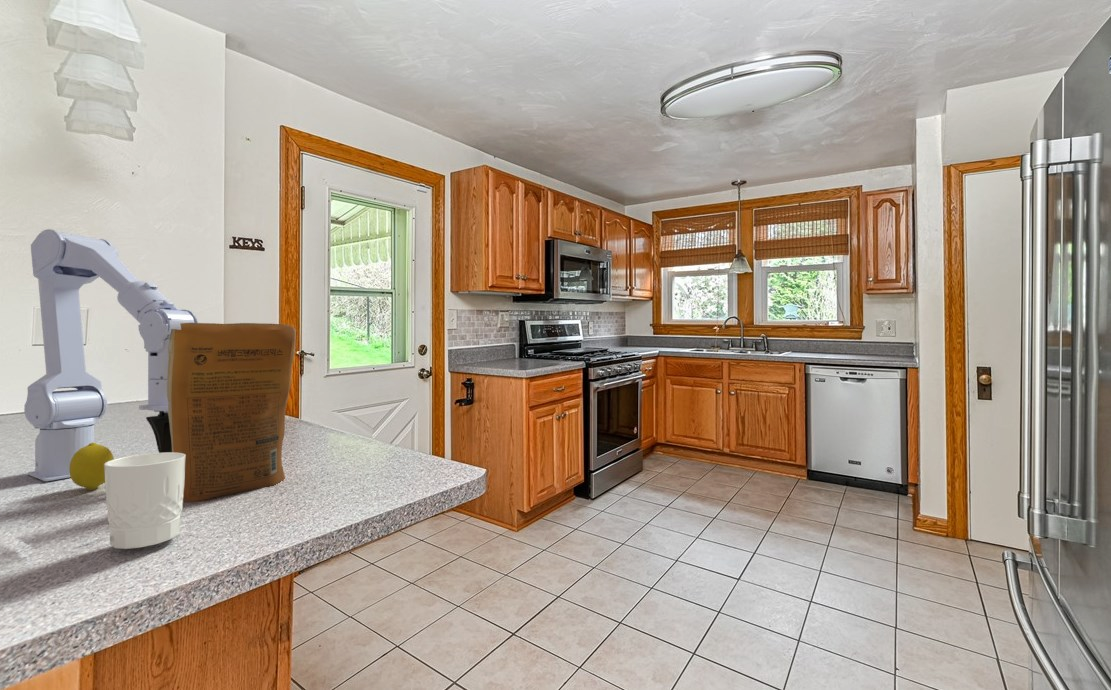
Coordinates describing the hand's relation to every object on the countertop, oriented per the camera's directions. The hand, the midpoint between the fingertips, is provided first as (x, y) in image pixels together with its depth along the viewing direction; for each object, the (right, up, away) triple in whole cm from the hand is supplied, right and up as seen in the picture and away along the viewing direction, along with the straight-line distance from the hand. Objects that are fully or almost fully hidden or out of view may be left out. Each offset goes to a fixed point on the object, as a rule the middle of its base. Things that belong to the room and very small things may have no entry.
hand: (169, 456), depth 87 cm
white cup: (+16, -5, -24) cm, 30 cm away
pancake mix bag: (+14, -5, -4) cm, 16 cm away
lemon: (-10, -5, -3) cm, 12 cm away
